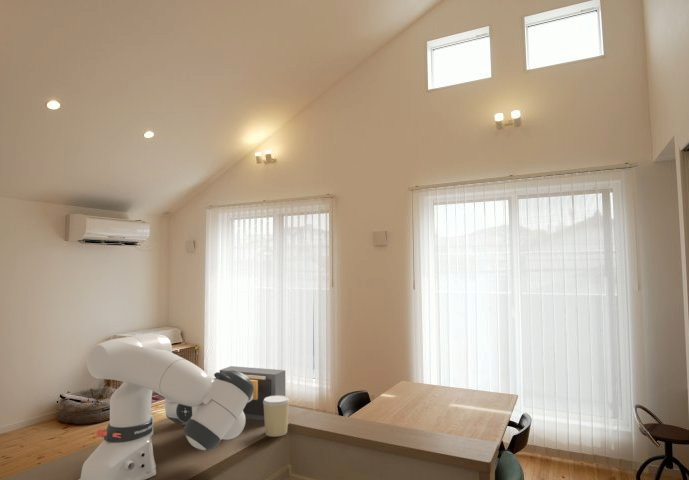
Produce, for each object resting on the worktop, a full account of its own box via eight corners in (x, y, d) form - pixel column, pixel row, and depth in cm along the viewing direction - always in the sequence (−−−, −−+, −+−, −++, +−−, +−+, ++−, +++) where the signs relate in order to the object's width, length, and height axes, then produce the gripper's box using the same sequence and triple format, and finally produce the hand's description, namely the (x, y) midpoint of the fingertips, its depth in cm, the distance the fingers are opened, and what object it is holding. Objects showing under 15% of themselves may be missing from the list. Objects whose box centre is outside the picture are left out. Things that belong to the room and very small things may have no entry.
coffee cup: (285, 426, 168) (284, 393, 169) (292, 434, 160) (292, 400, 161) (260, 430, 165) (260, 397, 166) (266, 439, 156) (266, 403, 157)
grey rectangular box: (274, 422, 173) (274, 375, 174) (217, 415, 182) (218, 370, 183) (285, 415, 181) (285, 370, 182) (230, 409, 190) (231, 366, 192)
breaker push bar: (255, 399, 171) (255, 381, 171) (220, 396, 176) (220, 378, 177) (260, 397, 173) (260, 379, 174) (225, 394, 179) (225, 376, 180)
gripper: (192, 405, 164) (215, 395, 177) (239, 410, 157) (261, 399, 170) (192, 387, 165) (216, 378, 178) (239, 391, 157) (261, 382, 170)
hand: (238, 389), depth 174 cm, fingers open, 8 cm apart
